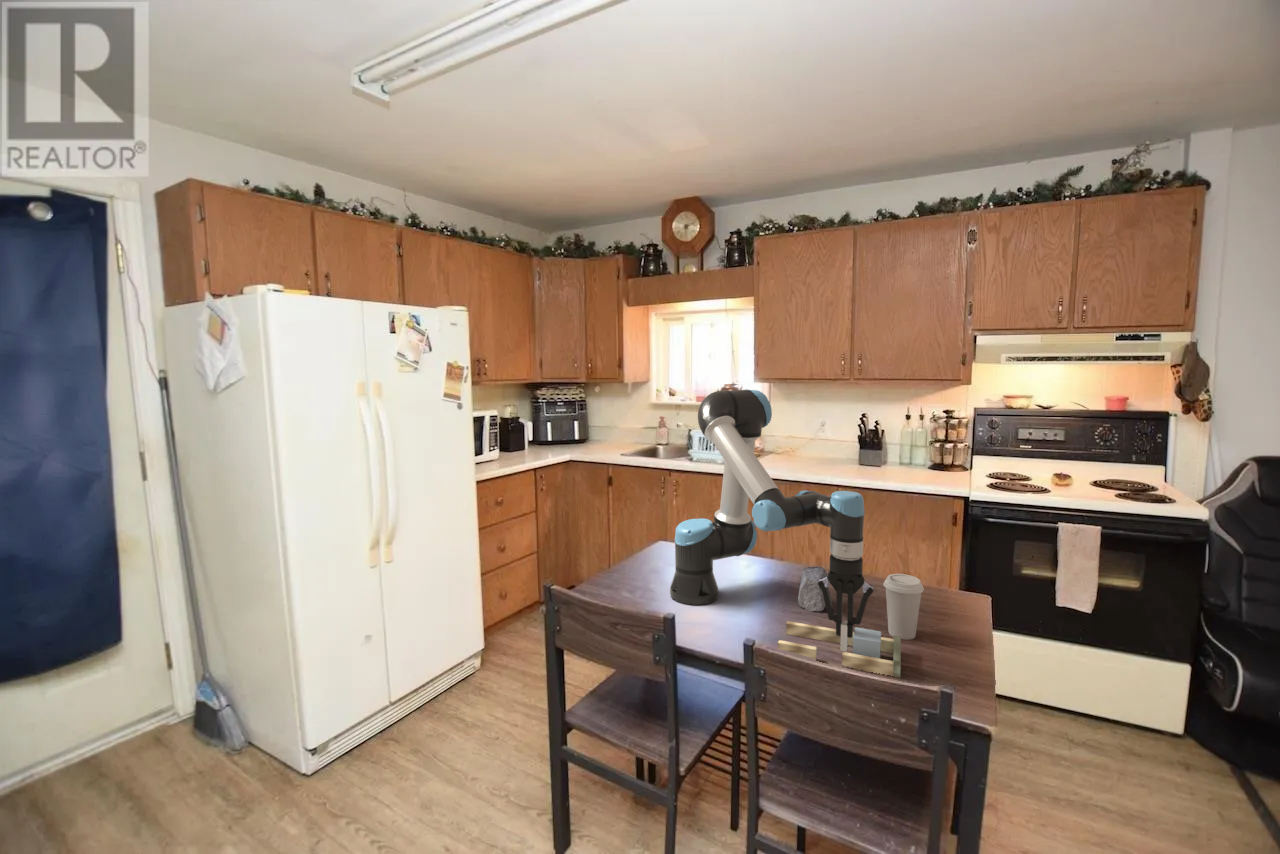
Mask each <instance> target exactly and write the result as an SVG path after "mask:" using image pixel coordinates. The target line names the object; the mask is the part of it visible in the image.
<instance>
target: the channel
mask: <svg viewBox="0 0 1280 854" xmlns="http://www.w3.org/2000/svg"><path fill="white" fill-rule="evenodd" d="M785 628H786V630H785V632H786V633H785V634H786V635H790V636H795V637H801V638H804V639H805V638H806V639H811V640H816V641H823V642H828V643H834V644H839V645H841V636H837V635H836V628H833V627H832V628H830V627H824V626H819V625H814V624H807V623H801V622H797V621H795V622H794V621H791V620H790V621H789V620H787V621H786V624H785ZM853 636H854V631H853V635H852V638H849V637H848V646H851V647H853ZM901 643H902V642H901V639H900V636H896V635H894V637H893V638H890V637H883V636H881V652H884V653H889V654H890V653H891V654H893V655H892V660H889V659H884V658H880V659H879V658H874V657H869V656H863V655H858V654H853V652H852V653H851V652H848V651H847V652H846V651H842V654H841V655H842V656H841V666H842V665H844V666H849V667H852V668H855V669H854V670H856V669H857V671H861V670H863V671H862V672H867V673H871V672H873V674H876V673H877V674H876V675H882V674H885V675H884V676H887V675H891V676H890V677H892V675H893V676H896V677H895V678H897V677H900V678H901V664H902V663H901V662H902V660H901V659H902V658H901V657H902V655H901V654H902V653H901V652H902V651H901V648H902V647H901V645H902V644H901ZM778 649H781V650H785V651H789V652H793V653H796V654H799V655H803V656H807V657H810V658H813V659H816V660H817V649H818V647H817V646H813V645H809V644H802V643H798V642H792V641H788V640H781V639H778V641H777V650H778ZM879 673H880V674H879Z"/></svg>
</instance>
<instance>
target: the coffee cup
mask: <svg viewBox="0 0 1280 854" xmlns="http://www.w3.org/2000/svg"><path fill="white" fill-rule="evenodd" d="M883 587H884V588H885V597H886V599H885V600H886V613H887V616H886V617H887V629H888V630H887V631H888V633H889V635H890V636H891V637H893V638H894V635H896V636H900V640H909V641H910V640H913V639H915V638H916V635H917V630H918V629H917V626H918V621H919V620H918V618H919V613H920V612H919V611H920V605H921V598H922V597H921V596H922V593H923V592H924V591H925V589H924V586H923V584H922V582H921V580H920V578H918V577H916V576H914V575H911V574H910V575H909V574H905V573H891V574H889V575H887V577H886V578H885V580H884V582H883Z"/></svg>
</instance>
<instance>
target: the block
mask: <svg viewBox="0 0 1280 854" xmlns="http://www.w3.org/2000/svg"><path fill="white" fill-rule="evenodd" d="M853 630H854V631H853V632H854V636H853V646H852V654H858V655H863V656H869V657H874V658H879V659H881V653H882V651H881V637H882V630H881V631H879V630H874V629H868V628H863V627H857V626H856V627H854V629H853Z"/></svg>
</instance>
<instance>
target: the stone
mask: <svg viewBox="0 0 1280 854" xmlns="http://www.w3.org/2000/svg"><path fill="white" fill-rule="evenodd" d="M827 575H828V573H827V571H826V570H825V568H823V567H822V566H811V567H810V566H808V567H805V568H803V569H802V572H801V576H800V582H799V586H798V587H799V588H798V596H797V597H798V598H797V601H798V602H797V603H798V606H799V607H801V608H803V609H805V610H806V611H809V612H822V611H824V610H825V609H826V605H825V601H824V597H823V592H822V590H821V588H820V587H819V585H818V582H819V579H820V578H822V579H824V578H826V577H827ZM829 587H830V586H828V588H829ZM829 589H830V588H829Z"/></svg>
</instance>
